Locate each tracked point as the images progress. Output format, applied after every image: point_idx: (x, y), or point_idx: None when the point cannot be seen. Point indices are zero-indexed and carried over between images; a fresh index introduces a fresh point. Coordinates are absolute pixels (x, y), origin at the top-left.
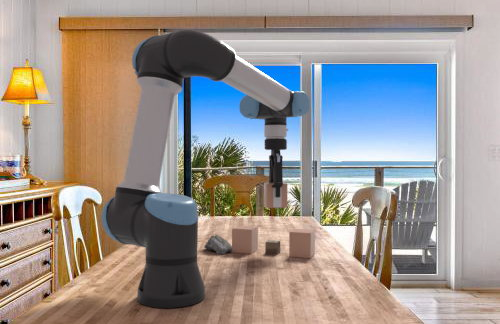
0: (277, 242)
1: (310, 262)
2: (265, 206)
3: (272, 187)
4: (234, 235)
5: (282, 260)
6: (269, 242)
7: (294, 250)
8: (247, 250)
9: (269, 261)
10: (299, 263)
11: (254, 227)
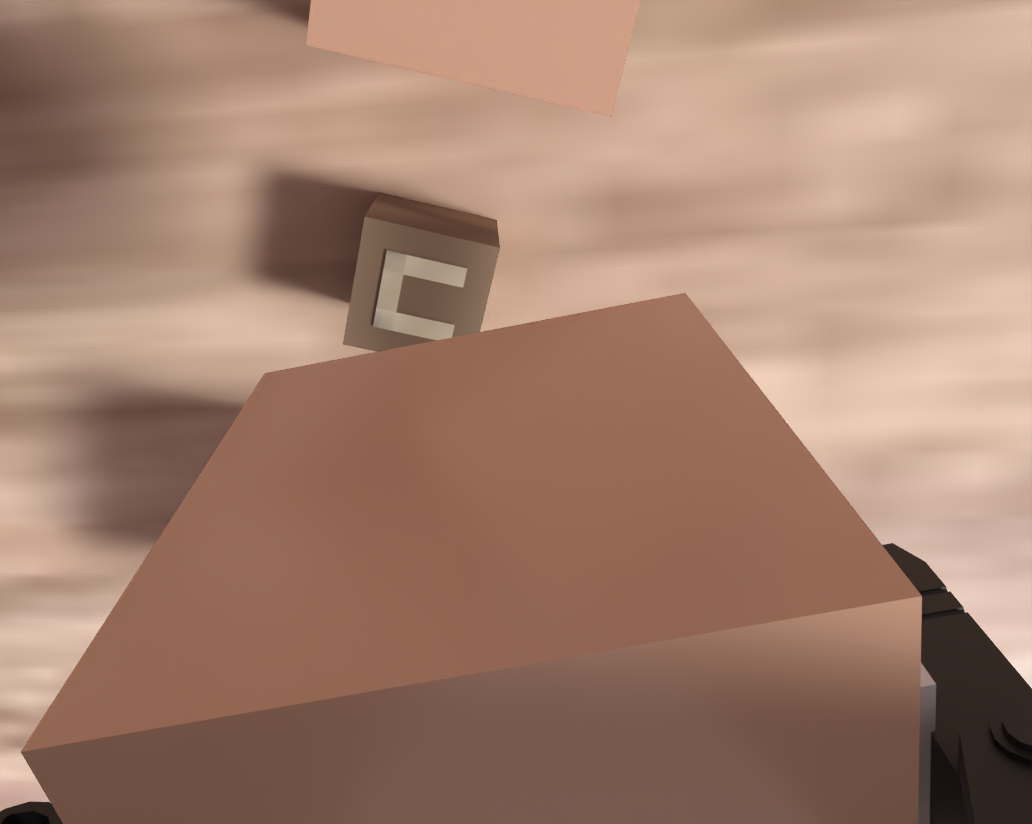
0: (369, 347)
1: (124, 566)
2: (425, 346)
3: (26, 817)
4: None
5: (128, 363)
6: (357, 262)
7: None
8: None
9: (48, 254)
10: (60, 494)
11: (532, 68)
